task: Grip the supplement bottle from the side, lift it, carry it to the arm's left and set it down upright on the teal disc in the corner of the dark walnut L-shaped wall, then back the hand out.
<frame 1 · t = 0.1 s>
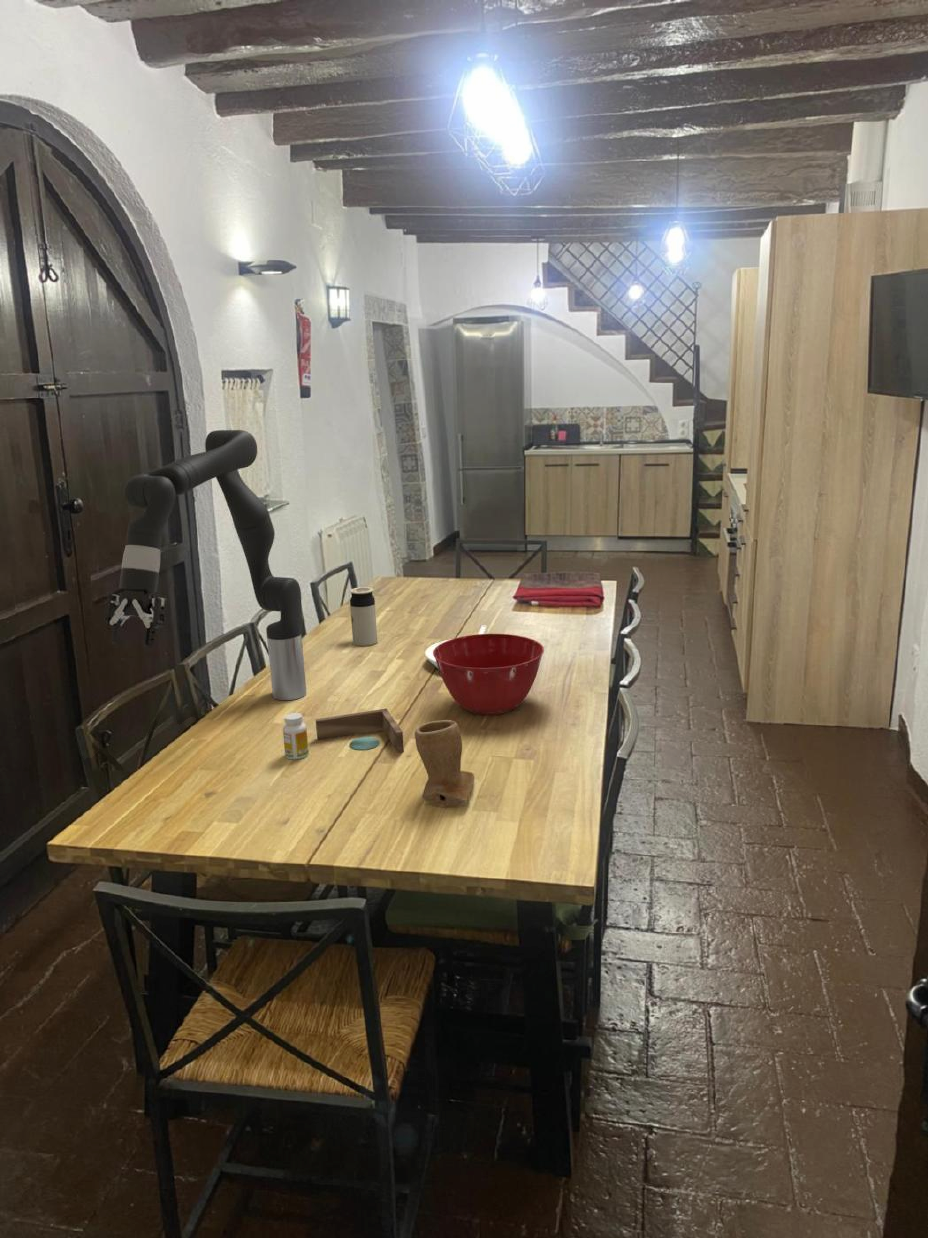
hand: (131, 645, 188), 31 cm above the table, tool tilted 20°, fingers open, 8 cm apart
mixing bowl: (490, 706, 234), on the table
corner arena: (364, 744, 212), on the table
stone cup: (444, 794, 186), on the table
pan: (475, 655, 277), on the table
travel mug: (365, 643, 293), on the table
supplement bottle: (297, 756, 208), on the table
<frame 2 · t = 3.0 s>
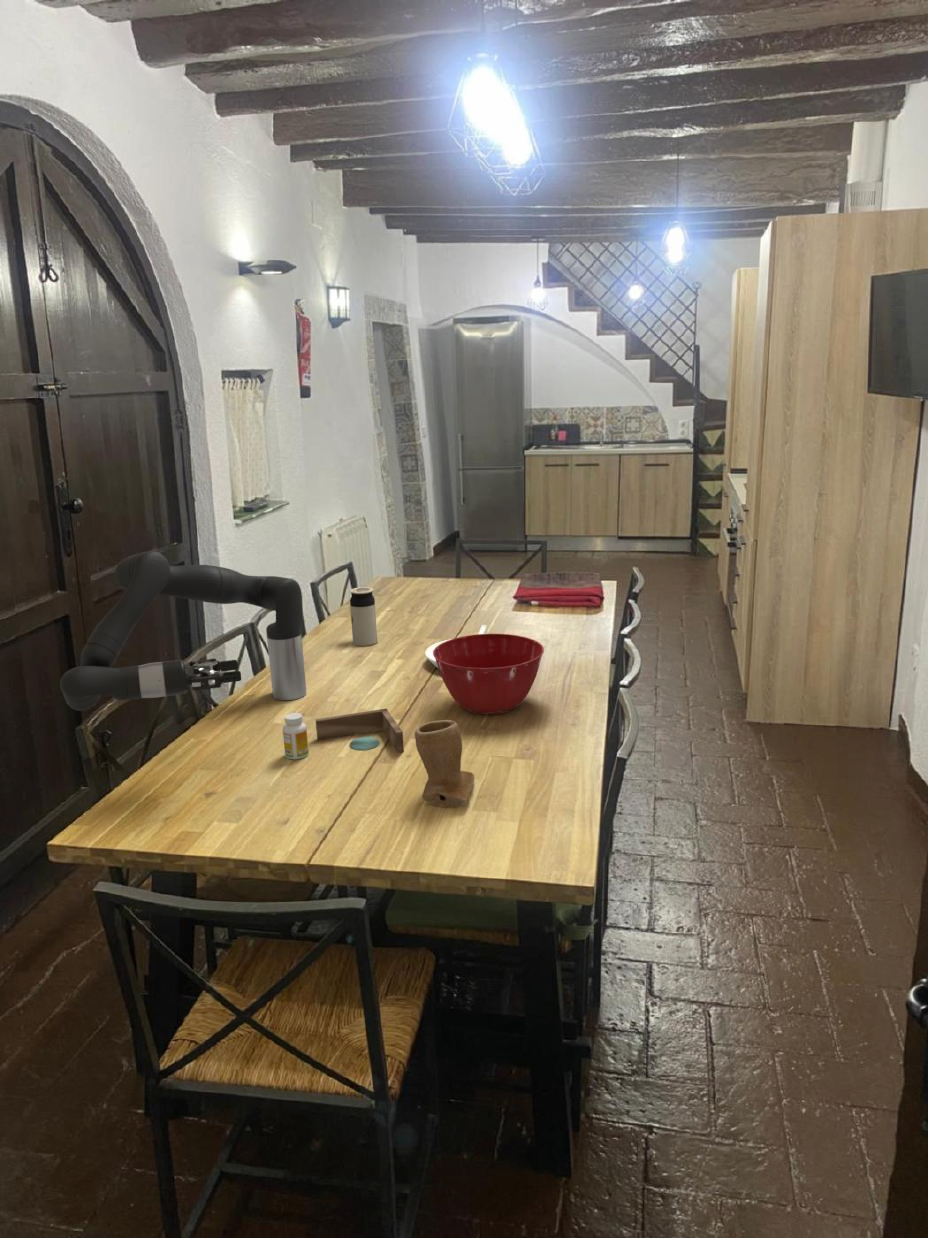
hand: (239, 669, 198), 22 cm above the table, tool horizontal, fingers open, 8 cm apart
nothing on the table moved.
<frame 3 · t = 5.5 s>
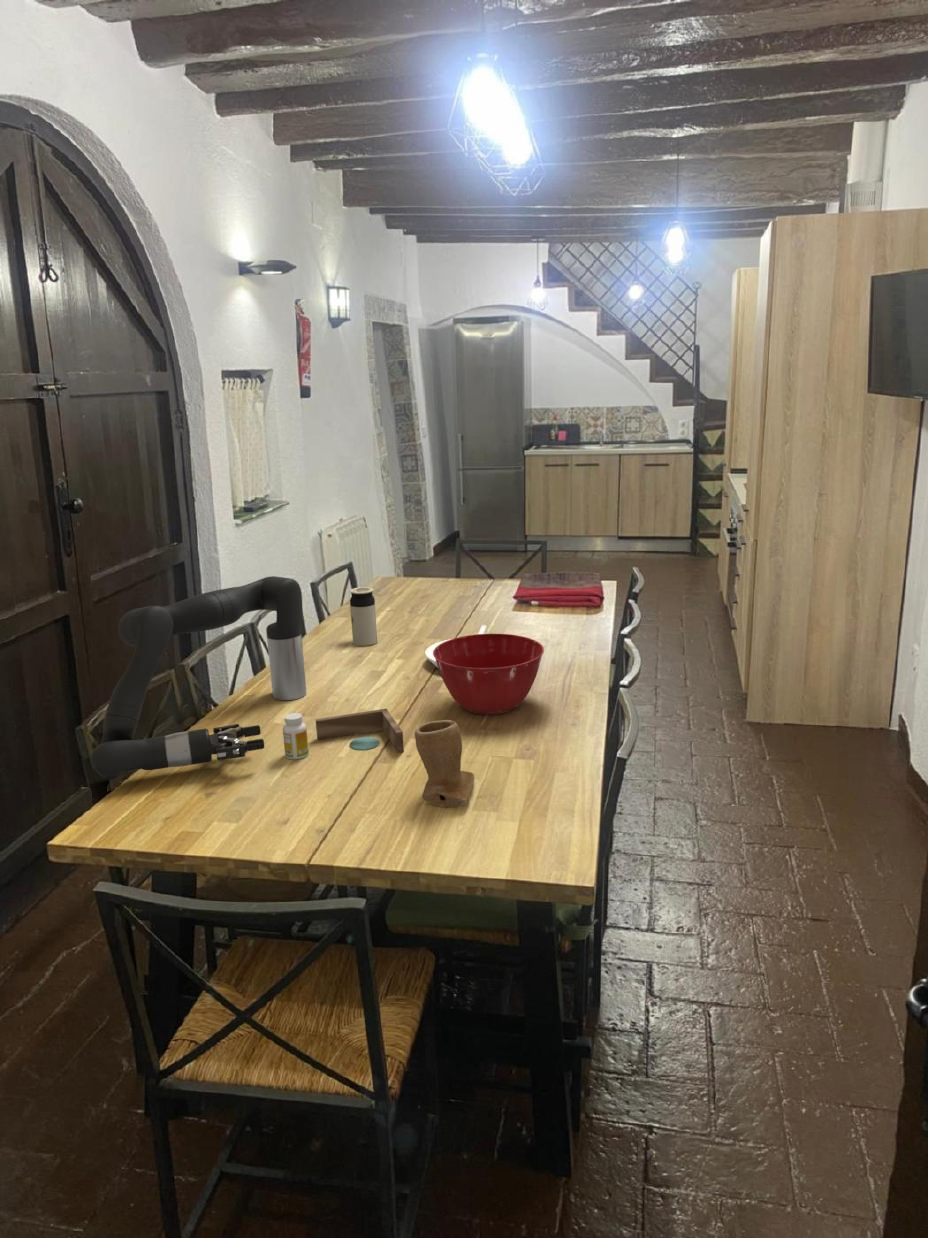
hand: (262, 736, 204), 6 cm above the table, tool horizontal, fingers open, 8 cm apart
nothing on the table moved.
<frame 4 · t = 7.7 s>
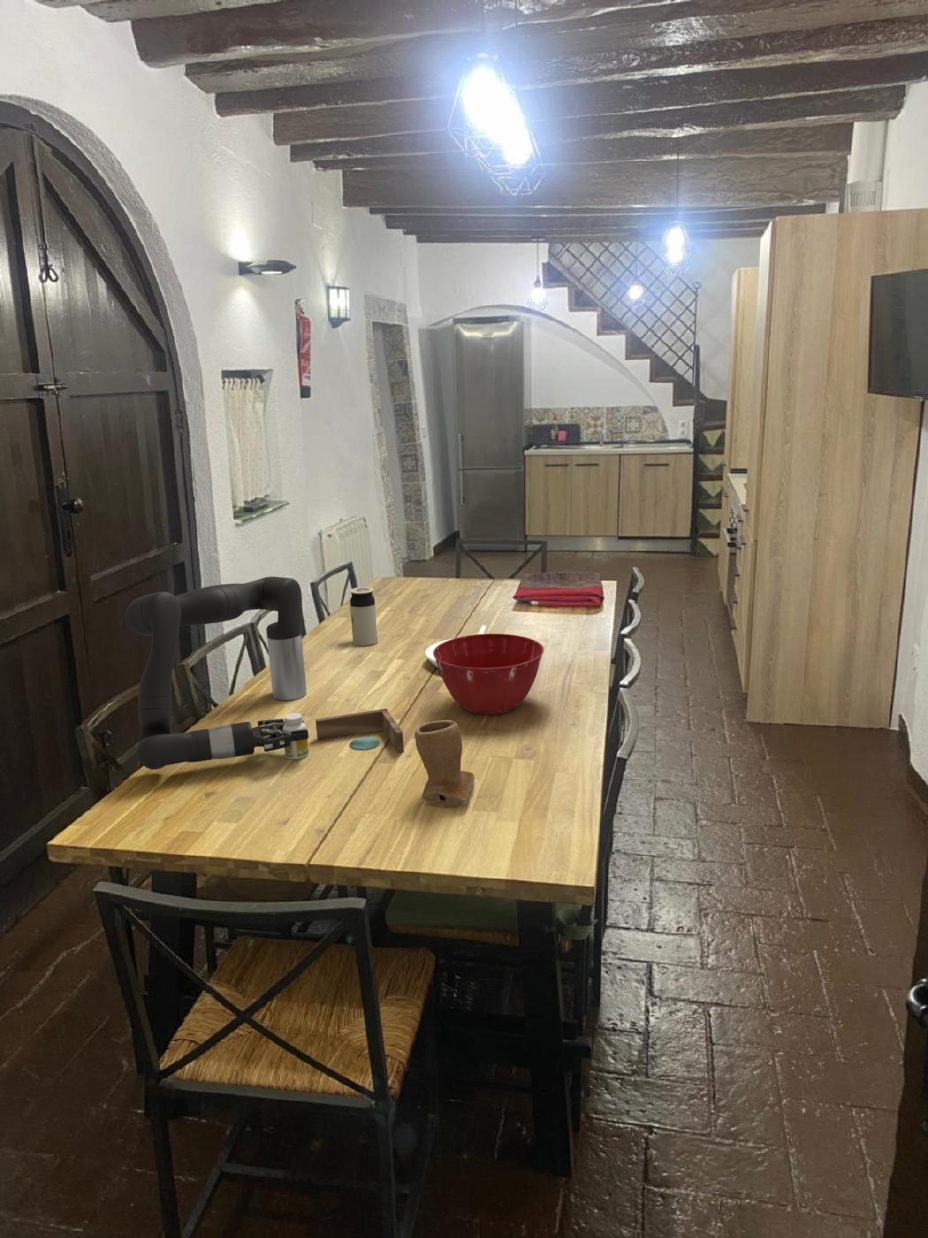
hand: (305, 729, 207), 6 cm above the table, tool horizontal, fingers closed on supplement bottle, 5 cm apart
supplement bottle: (297, 755, 208), on the table, touching gripper
everything else where it was.
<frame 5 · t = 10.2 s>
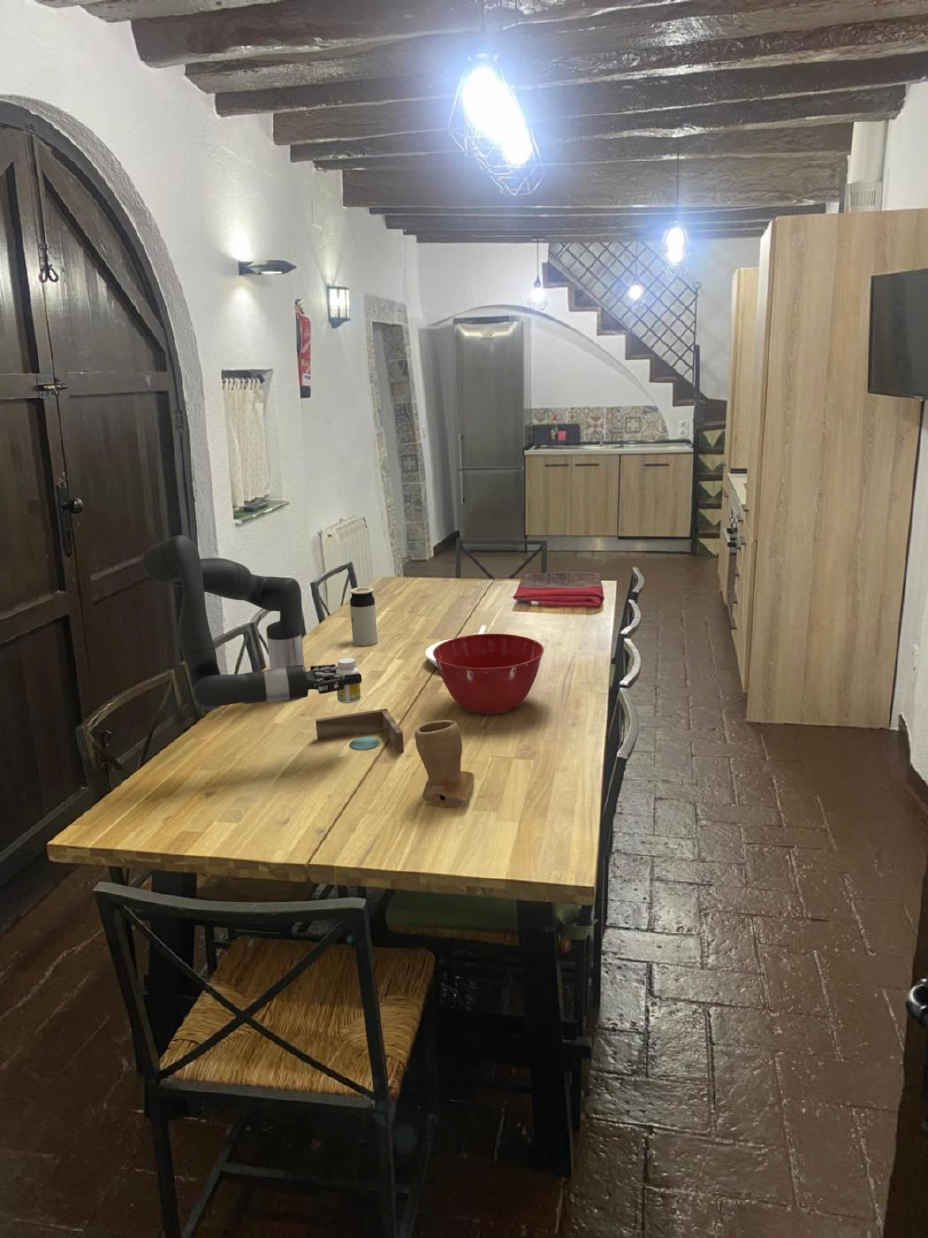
hand: (358, 674, 207), 18 cm above the table, tool horizontal, fingers closed on supplement bottle, 5 cm apart
supplement bottle: (349, 700, 208), point 11 cm above the table, touching gripper
everything else where it was.
when the fingers open (7 cm above the table, at t = 12.9 s): supplement bottle stays where it is, resting on corner arena.
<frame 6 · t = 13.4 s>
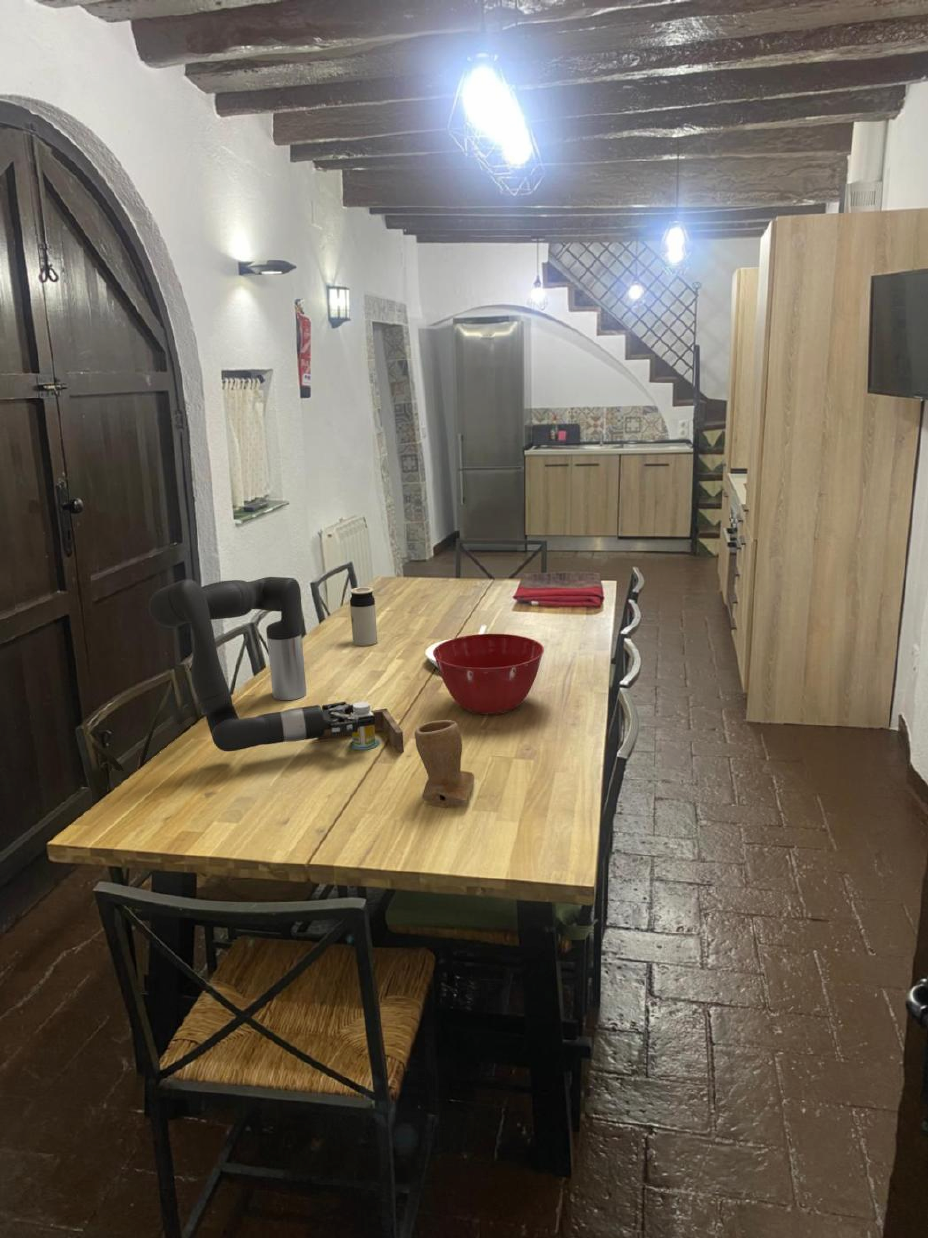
hand: (370, 713, 211), 8 cm above the table, tool horizontal, fingers open, 8 cm apart
supplement bottle: (364, 743, 212), resting on corner arena
everything else where it was.
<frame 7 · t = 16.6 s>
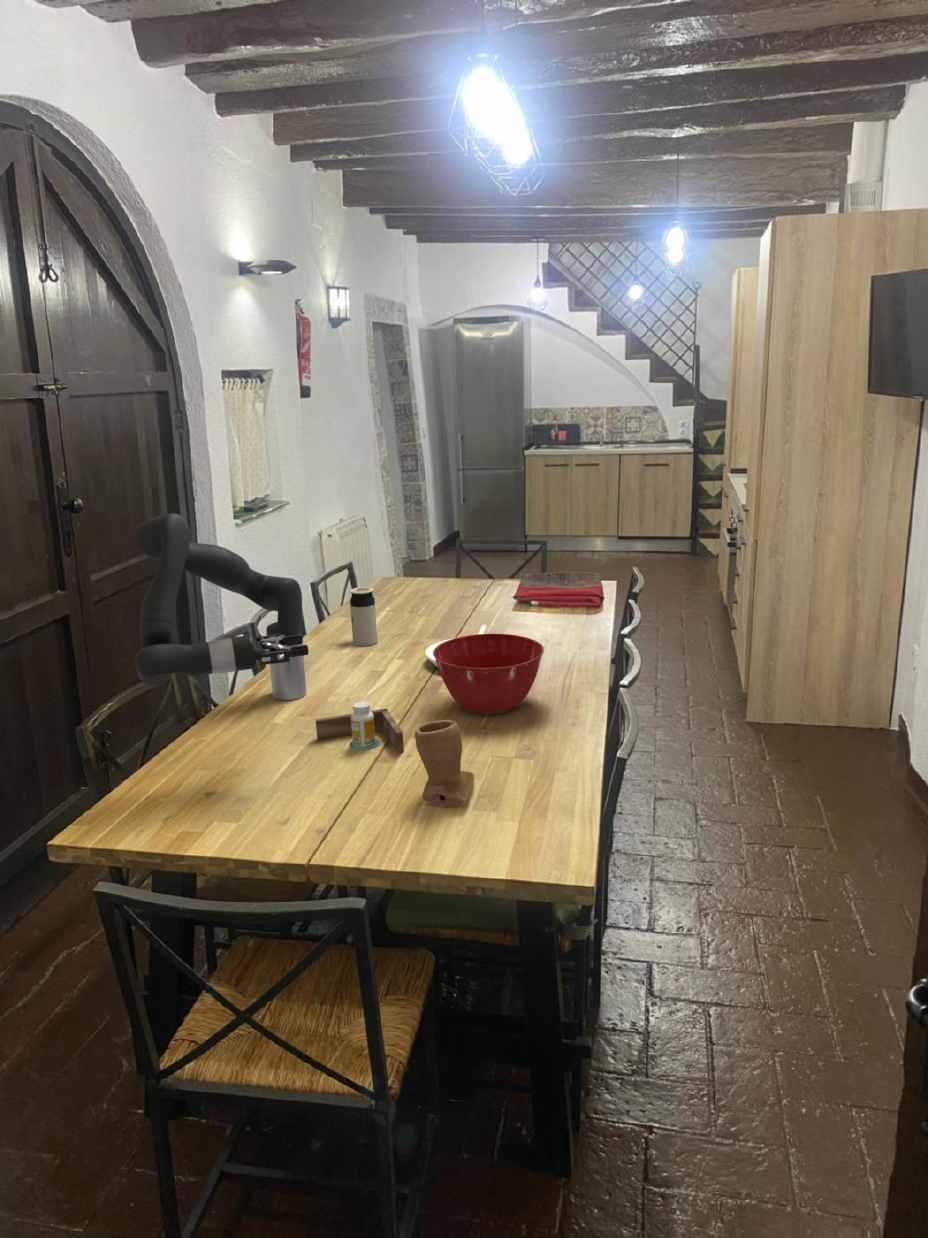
hand: (305, 644, 202), 26 cm above the table, tool horizontal, fingers open, 8 cm apart
nothing on the table moved.
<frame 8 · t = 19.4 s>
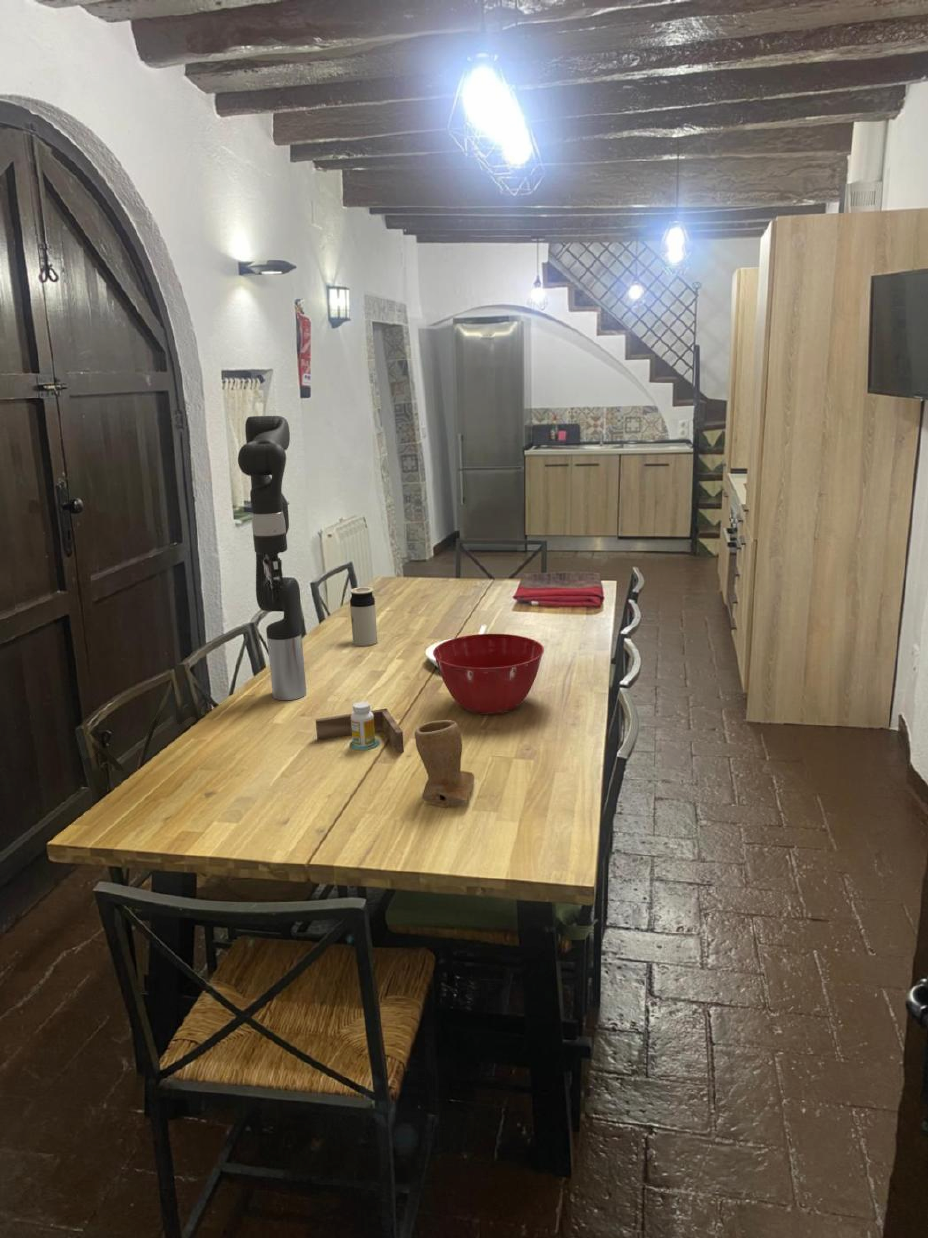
hand: (275, 599, 211), 34 cm above the table, tool pointing down, fingers open, 8 cm apart
nothing on the table moved.
at the end: supplement bottle inside the target area (0.1 cm from its centre), resting on corner arena; supplement bottle tilted 0°; the gripper is holding nothing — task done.
